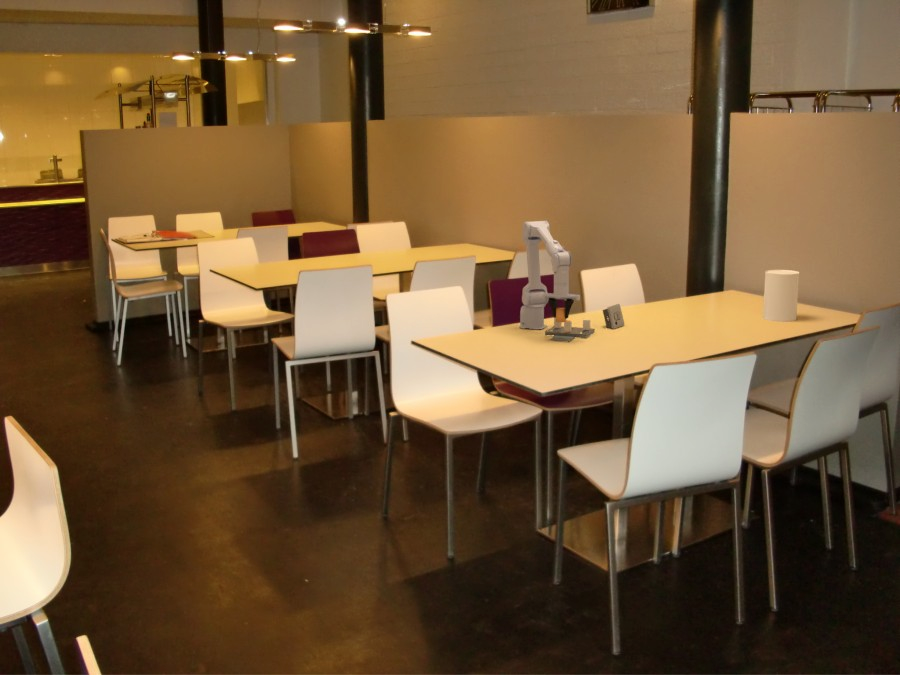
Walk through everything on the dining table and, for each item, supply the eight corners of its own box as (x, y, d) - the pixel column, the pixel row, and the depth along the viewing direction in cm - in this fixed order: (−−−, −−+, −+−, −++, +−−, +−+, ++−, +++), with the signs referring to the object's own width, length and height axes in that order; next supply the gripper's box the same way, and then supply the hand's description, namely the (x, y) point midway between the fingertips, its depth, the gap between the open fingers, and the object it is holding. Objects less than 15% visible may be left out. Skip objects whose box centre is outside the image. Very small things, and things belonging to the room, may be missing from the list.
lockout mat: (549, 340, 355) (549, 339, 355) (555, 336, 362) (555, 335, 362) (569, 342, 352) (569, 341, 352) (575, 337, 359) (575, 336, 359)
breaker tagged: (564, 331, 363) (564, 321, 362) (565, 330, 365) (565, 320, 364) (570, 332, 362) (570, 321, 361) (571, 331, 364) (571, 320, 363)
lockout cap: (555, 322, 355) (555, 309, 354) (556, 320, 358) (556, 307, 357) (565, 322, 354) (565, 309, 353) (566, 320, 357) (566, 307, 356)
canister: (793, 322, 381) (796, 275, 377) (759, 320, 387) (762, 273, 383) (798, 317, 392) (801, 270, 388) (766, 314, 399) (768, 268, 395)
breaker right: (582, 329, 366) (583, 319, 365) (584, 328, 368) (584, 319, 367) (588, 330, 365) (589, 320, 364) (590, 329, 367) (590, 319, 366)
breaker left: (554, 327, 371) (554, 318, 370) (555, 326, 373) (555, 317, 372) (560, 328, 370) (560, 318, 369) (561, 327, 372) (561, 317, 371)
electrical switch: (613, 329, 373) (612, 307, 372) (602, 329, 377) (601, 307, 375) (624, 325, 381) (623, 303, 379) (613, 325, 384) (612, 303, 382)
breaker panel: (545, 335, 365) (545, 330, 364) (554, 329, 375) (554, 324, 375) (586, 338, 358) (586, 333, 358) (594, 332, 369) (594, 327, 368)
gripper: (540, 283, 352) (539, 318, 355) (576, 285, 346) (576, 320, 349) (545, 281, 359) (545, 315, 361) (581, 282, 353) (581, 317, 356)
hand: (561, 317), depth 356 cm, fingers closed on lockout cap, 4 cm apart
